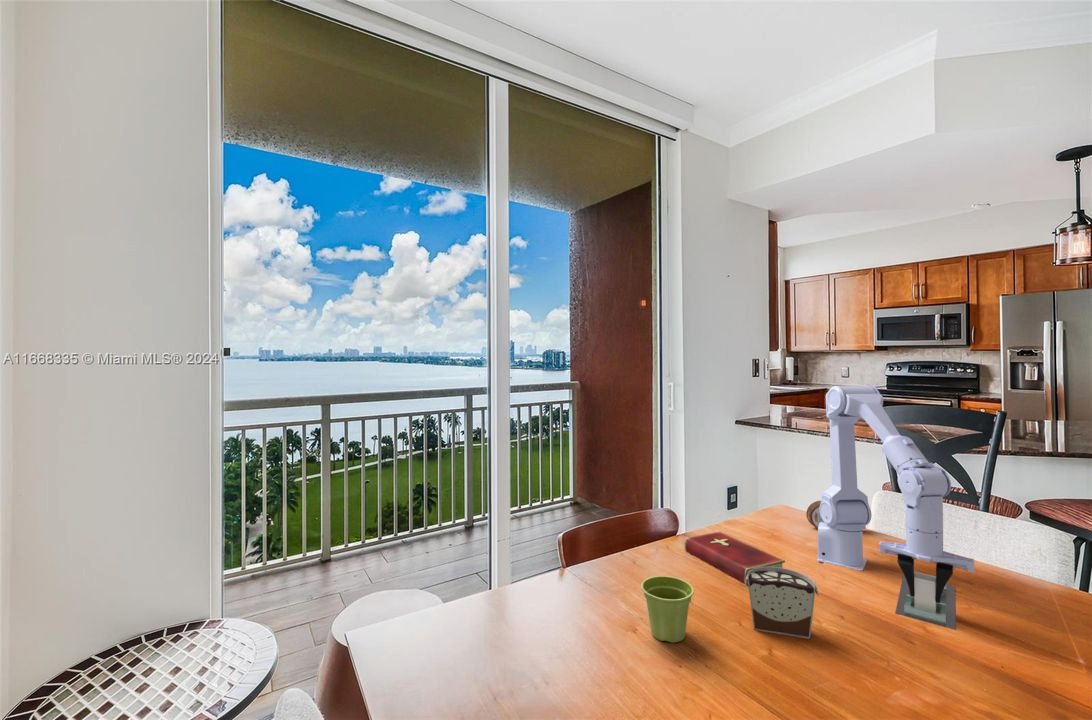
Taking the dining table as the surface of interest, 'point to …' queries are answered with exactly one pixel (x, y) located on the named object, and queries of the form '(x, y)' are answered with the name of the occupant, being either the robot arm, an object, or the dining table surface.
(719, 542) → the hardcover book
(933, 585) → the plug
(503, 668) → the dining table surface
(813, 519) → the tin
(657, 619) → the plant pot
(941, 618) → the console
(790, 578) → the grey brown curved-top block
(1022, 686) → the dining table surface
